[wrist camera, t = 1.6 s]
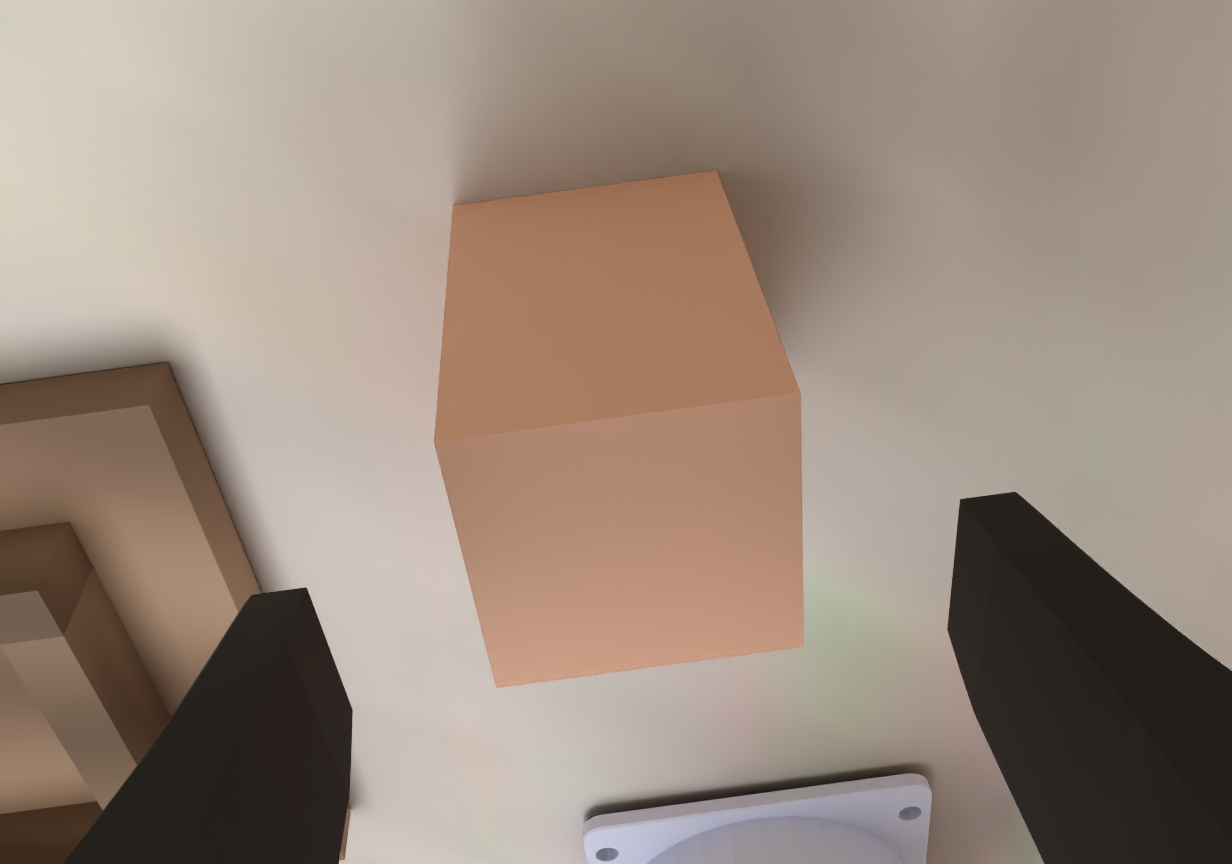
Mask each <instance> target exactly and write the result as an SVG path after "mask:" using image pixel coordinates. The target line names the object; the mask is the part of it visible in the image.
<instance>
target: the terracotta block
mask: <svg viewBox="0 0 1232 864" xmlns="http://www.w3.org/2000/svg"><path fill="white" fill-rule="evenodd" d="M434 444H435V448H436V452H437V456H438V460H439V464H440V467H441V471H442V475H443V479H444V483H445V487H446V491H447V495H448V499H449V503H450V507H451V511H452V515H453V519H454V523H455V527H456V531H457V535H458V539H459V542H460V546H461V550H462V554H463V558H464V562H465V566H466V570H467V574H468V578H469V582H470V586H471V590H472V594H473V598H474V602H475V606H476V610H477V614H478V618H479V621H480V625H481V629H482V633H483V637H484V641H485V645H486V649H487V653H488V657H489V661H490V665H491V669H492V673H493V677H494V681H495V685H496V688H500V687H508V686H515V685H523V684H530V683H537V682H545V681H552V680H560V679H567V678H575V677H582V676H589V675H597V674H604V673H612V672H619V671H626V670H634V669H641V668H649V667H656V666H663V665H671V664H678V663H686V662H693V661H700V660H708V659H715V658H723V657H730V656H738V655H745V654H752V653H760V652H767V651H775V650H782V649H789V648H797V647H804V630H803V552H802V473H801V395H800V390H799V388H798V385H797V382H796V380H795V377H794V374H793V372H792V369H791V366H790V364H789V361H788V358H787V356H786V353H785V350H784V348H783V345H782V342H781V340H780V337H779V334H778V332H777V329H776V326H775V324H774V321H773V318H772V316H771V313H770V310H769V308H768V305H767V303H766V300H765V297H764V295H763V292H762V289H761V287H760V284H759V281H758V279H757V276H756V273H755V271H754V268H753V265H752V263H751V260H750V257H749V255H748V252H747V249H746V247H745V244H744V241H743V239H742V236H741V233H740V231H739V228H738V225H737V223H736V220H735V218H734V215H733V212H732V210H731V207H730V204H729V202H728V199H727V196H726V194H725V191H724V188H723V186H722V183H721V180H720V178H719V175H718V172H717V170H714V171H707V172H699V173H692V174H684V175H677V176H669V177H662V178H654V179H647V180H639V181H632V182H624V183H617V184H610V185H602V186H595V187H587V188H580V189H572V190H565V191H557V192H550V193H542V194H535V195H527V196H520V197H513V198H505V199H498V200H490V201H483V202H475V203H468V204H460V205H453V212H452V225H451V237H450V250H449V262H448V275H447V287H446V300H445V312H444V325H443V337H442V350H441V362H440V374H439V387H438V399H437V412H436V424H435V437H434Z"/></svg>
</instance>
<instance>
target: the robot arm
mask: <svg viewBox="0 0 1232 864" xmlns="http://www.w3.org/2000/svg"><path fill="white" fill-rule="evenodd" d="M947 630H948V633H949V636H950V639H951V643H952V646H953V649H954V652H955V655H956V659H957V662H958V665H959V668H960V672H961V675H962V678H963V681H964V684H965V687H966V690H967V693H968V696H969V699H970V702H971V705H972V707H973V710H974V713H975V715H976V718H977V720H978V722H979V724H980V726H981V729H982V731H983V733H984V735H985V737H986V740H987V742H988V744H989V746H990V748H991V750H992V753H993V755H994V757H995V759H996V761H997V763H998V766H999V768H1000V770H1001V772H1002V774H1003V776H1004V779H1005V781H1006V783H1007V785H1008V787H1009V789H1010V791H1011V793H1012V795H1013V798H1014V800H1015V802H1016V804H1017V806H1018V808H1019V810H1020V812H1021V815H1022V817H1023V819H1024V821H1025V823H1026V825H1027V827H1028V829H1029V832H1030V834H1031V836H1032V838H1033V840H1034V842H1035V844H1036V846H1037V849H1038V851H1039V853H1040V855H1041V857H1042V859H1043V861H1044V863H1045V864H1232V671H1231V670H1229V669H1228V668H1227V667H1225V666H1224V665H1223V664H1221V663H1220V662H1218V661H1217V660H1216V659H1214V658H1213V657H1212V656H1210V655H1209V654H1208V653H1206V652H1205V651H1204V650H1202V649H1201V648H1200V647H1199V646H1197V645H1196V644H1195V643H1193V642H1192V641H1191V640H1190V639H1188V638H1187V637H1186V636H1184V635H1183V634H1182V633H1180V632H1179V631H1178V630H1177V629H1176V628H1174V627H1173V626H1172V625H1171V624H1169V623H1168V622H1167V621H1166V620H1164V619H1163V618H1162V617H1161V616H1160V615H1158V614H1157V613H1156V612H1155V611H1153V610H1152V609H1151V608H1150V607H1148V606H1147V605H1146V604H1145V603H1144V602H1142V601H1141V600H1140V599H1139V598H1137V597H1136V596H1135V595H1134V594H1133V593H1131V592H1130V591H1129V590H1128V589H1127V588H1125V587H1124V586H1123V585H1122V584H1121V583H1119V582H1118V581H1117V580H1116V579H1115V578H1114V577H1112V576H1111V575H1110V574H1109V573H1108V572H1107V571H1105V570H1104V569H1103V568H1102V567H1101V566H1100V565H1099V564H1097V563H1096V562H1095V561H1094V560H1093V559H1092V558H1090V557H1089V556H1088V555H1087V554H1086V553H1085V552H1084V551H1082V550H1081V549H1080V548H1079V547H1078V546H1077V545H1076V544H1075V543H1073V542H1072V541H1071V540H1070V539H1069V538H1068V537H1067V536H1065V535H1064V534H1063V533H1062V532H1061V531H1060V530H1059V529H1058V528H1057V527H1055V526H1054V525H1053V524H1052V523H1051V522H1050V521H1049V520H1048V519H1046V518H1045V517H1044V516H1043V515H1042V514H1041V513H1040V512H1039V511H1037V510H1036V509H1035V508H1034V507H1033V506H1032V505H1031V504H1029V503H1028V502H1027V501H1026V500H1025V499H1024V498H1022V497H1021V496H1020V495H1019V494H1018V493H1016V492H1011V493H1003V494H996V495H988V496H981V497H974V498H966V499H960V506H959V516H958V526H957V537H956V547H955V557H954V568H953V578H952V588H951V598H950V609H949V619H948V629H947ZM351 743H352V707H351V705H350V702H349V699H348V697H347V694H346V691H345V689H344V686H343V683H342V681H341V678H340V675H339V673H338V670H337V667H336V665H335V662H334V659H333V657H332V654H331V651H330V649H329V646H328V643H327V641H326V638H325V635H324V633H323V630H322V627H321V625H320V622H319V619H318V617H317V614H316V611H315V609H314V606H313V603H312V601H311V598H310V595H309V593H308V590H307V588H299V589H292V590H284V591H277V592H269V593H262V594H255V595H251V596H250V597H249V599H248V600H247V601H246V602H245V604H244V605H243V607H242V608H241V610H240V611H239V613H238V614H237V616H236V617H235V619H234V620H233V622H232V624H231V625H230V627H229V628H228V630H227V631H226V633H225V635H224V636H223V638H222V639H221V641H220V642H219V644H218V646H217V647H216V649H215V650H214V652H213V653H212V655H211V657H210V658H209V660H208V661H207V663H206V664H205V666H204V667H203V669H202V670H201V672H200V674H199V675H198V677H197V678H196V680H195V681H194V683H193V684H192V686H191V687H190V689H189V690H188V692H187V693H186V695H185V696H184V698H183V699H182V701H181V702H180V704H179V705H178V707H177V708H176V710H175V711H174V713H173V714H172V716H171V717H170V718H169V720H168V721H167V723H166V724H165V726H164V727H163V729H162V730H161V731H160V733H159V734H158V736H157V737H156V739H155V740H154V742H153V743H152V745H151V746H150V747H149V749H148V750H147V752H146V753H145V755H144V756H143V758H142V759H141V760H140V762H139V763H138V765H137V766H136V767H135V769H134V770H133V771H132V773H131V774H130V775H129V777H128V778H127V779H126V781H125V782H124V783H123V785H122V786H121V787H120V789H119V790H118V791H117V793H116V794H115V795H114V797H113V798H112V799H111V800H110V802H109V803H108V804H107V806H106V807H105V808H104V810H103V811H102V812H101V814H100V815H99V816H98V818H97V819H96V820H95V822H94V823H93V824H92V826H91V827H90V828H89V830H88V831H87V832H86V833H85V835H84V836H83V837H82V838H81V840H80V841H79V842H78V843H77V845H76V846H75V847H74V848H73V850H72V851H71V852H70V853H69V854H68V856H67V857H66V858H65V859H64V861H63V862H62V863H61V864H339V858H340V851H341V845H342V839H343V833H344V827H345V820H346V814H347V807H348V801H349V788H350V769H351ZM931 804H932V792H931V789H930V786H929V783H928V781H927V779H926V778H925V777H924V776H922V775H918V774H915V773H906V774H899V775H891V776H884V777H877V778H869V779H862V780H854V781H847V782H840V783H832V784H825V785H817V786H810V787H802V788H795V789H788V790H780V791H773V792H765V793H758V794H751V795H743V796H736V797H728V798H721V799H714V800H706V801H699V802H691V803H684V804H677V805H669V806H662V807H654V808H647V809H640V810H632V811H625V812H617V813H610V814H602V815H598V816H594V817H592V818H591V819H589V820H587V821H586V822H585V824H584V825H583V827H582V839H583V846H584V851H585V856H586V861H587V864H926V856H927V846H928V835H929V825H930V814H931Z"/></svg>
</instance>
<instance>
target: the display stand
mask: <svg viewBox="0 0 1232 864" xmlns="http://www.w3.org/2000/svg"><path fill="white" fill-rule="evenodd" d="M255 594H262V593H261V591H260V588H259V586H258V583H257V581H256V578H255V576H254V573H253V571H252V569H251V566H250V564H249V561H248V559H247V556H246V554H245V551H244V549H243V546H242V544H241V542H240V539H239V537H238V534H237V532H236V529H235V527H234V524H233V522H232V519H231V517H230V515H229V512H228V510H227V507H226V505H225V502H224V500H223V497H222V495H221V492H220V490H219V487H218V485H217V483H216V480H215V478H214V475H213V473H212V470H211V468H210V465H209V463H208V460H207V458H206V456H205V453H204V451H203V448H202V446H201V443H200V441H199V438H198V436H197V433H196V431H195V429H194V426H193V424H192V421H191V419H190V416H189V414H188V411H187V409H186V406H185V404H184V402H183V399H182V397H181V394H180V392H179V389H178V387H177V384H176V382H175V379H174V377H173V374H172V372H171V370H170V367H169V365H168V362H167V363H160V364H153V365H145V366H138V367H130V368H123V369H115V370H108V371H100V372H93V373H86V374H78V375H71V376H63V377H56V378H48V379H41V380H33V381H26V382H19V383H11V384H4V385H0V864H61V863H62V862H63V861H64V859H65V858H66V857H67V856H68V854H69V853H70V852H71V851H72V850H73V848H74V847H75V846H76V845H77V843H78V842H79V841H80V840H81V838H82V837H83V836H84V835H85V833H86V832H87V831H88V830H89V828H90V827H91V826H92V824H93V823H94V822H95V820H96V819H97V818H98V816H99V815H100V814H101V812H102V811H103V810H104V808H105V807H106V806H107V804H108V803H109V802H110V800H111V799H112V798H113V797H114V795H115V794H116V793H117V791H118V790H119V789H120V787H121V786H122V785H123V783H124V782H125V781H126V779H127V778H128V777H129V775H130V774H131V773H132V771H133V770H134V769H135V767H136V766H137V765H138V763H139V762H140V760H141V759H142V758H143V756H144V755H145V753H146V752H147V750H148V749H149V747H150V746H151V745H152V743H153V742H154V740H155V739H156V737H157V736H158V734H159V733H160V731H161V730H162V729H163V727H164V726H165V724H166V723H167V721H168V720H169V718H170V717H171V716H172V714H173V713H174V711H175V710H176V708H177V707H178V705H179V704H180V702H181V701H182V699H183V698H184V696H185V695H186V693H187V692H188V690H189V689H190V687H191V686H192V684H193V683H194V681H195V680H196V678H197V677H198V675H199V674H200V672H201V670H202V669H203V667H204V666H205V664H206V663H207V661H208V660H209V658H210V657H211V655H212V653H213V652H214V650H215V649H216V647H217V646H218V644H219V642H220V641H221V639H222V638H223V636H224V635H225V633H226V631H227V630H228V628H229V627H230V625H231V624H232V622H233V620H234V619H235V617H236V616H237V614H238V613H239V611H240V610H241V608H242V607H243V605H244V604H245V602H246V601H247V600H248V599H249V597H250V596H251V595H255ZM349 820H350V809H349V807H347V814H346V820H345V827H344V833H343V839H342V845H341V851H340V858H339V860H345V852H346V844H347V836H348V828H349Z"/></svg>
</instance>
